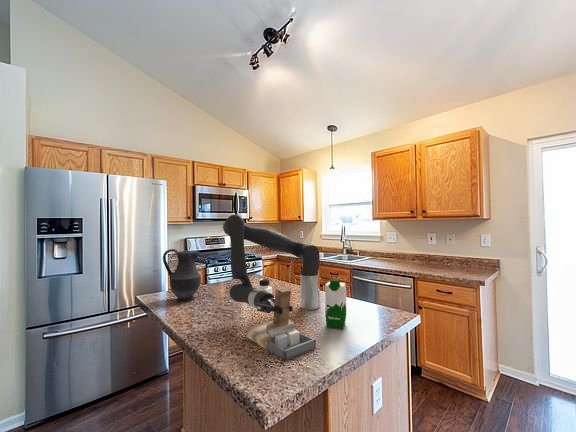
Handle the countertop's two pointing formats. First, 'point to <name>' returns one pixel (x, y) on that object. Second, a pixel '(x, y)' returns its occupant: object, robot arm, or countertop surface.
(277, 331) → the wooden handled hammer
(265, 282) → the medicine bottle
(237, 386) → the countertop surface
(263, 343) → the light wood board
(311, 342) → the tray
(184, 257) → the pitcher
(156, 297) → the countertop surface
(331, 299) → the milk carton
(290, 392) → the countertop surface
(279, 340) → the tile
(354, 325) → the countertop surface
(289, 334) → the tile
